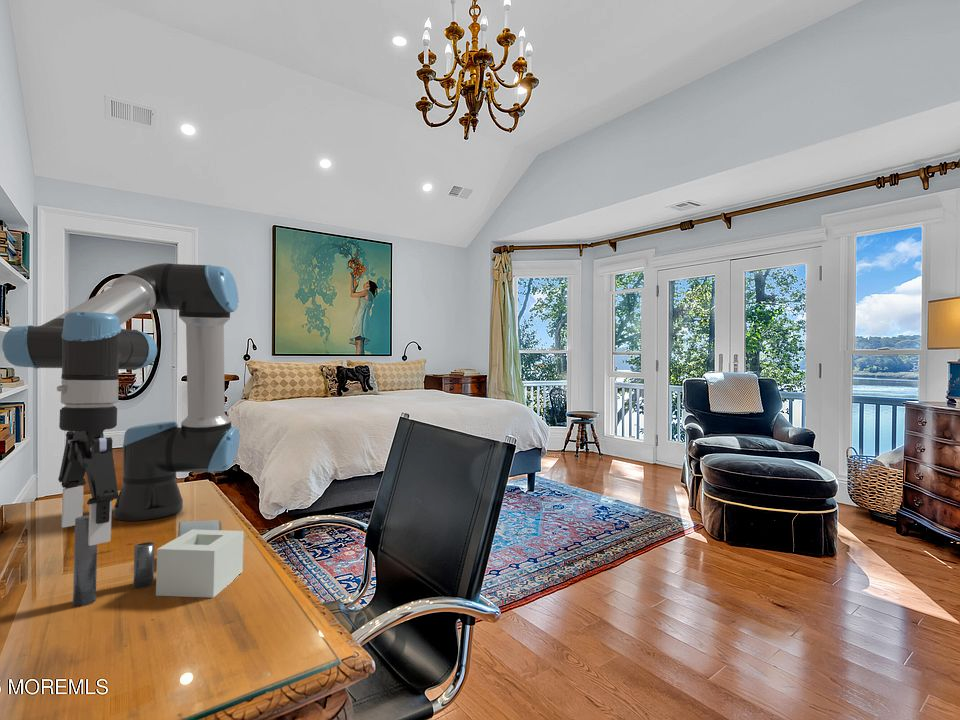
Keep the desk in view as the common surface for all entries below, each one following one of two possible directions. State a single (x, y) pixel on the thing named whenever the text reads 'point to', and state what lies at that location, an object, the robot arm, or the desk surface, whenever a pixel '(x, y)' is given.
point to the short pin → (143, 565)
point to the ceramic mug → (199, 526)
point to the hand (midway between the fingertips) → (85, 534)
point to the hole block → (199, 563)
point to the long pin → (84, 565)
